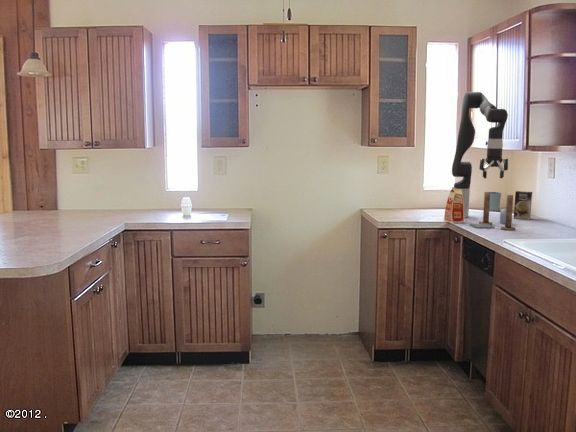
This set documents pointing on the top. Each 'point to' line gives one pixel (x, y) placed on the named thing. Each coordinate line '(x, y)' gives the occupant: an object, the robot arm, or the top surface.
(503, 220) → the pale blue egg shape
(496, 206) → the drinking glass
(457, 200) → the milk carton
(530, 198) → the coffee box
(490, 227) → the mat
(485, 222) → the post
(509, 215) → the post
